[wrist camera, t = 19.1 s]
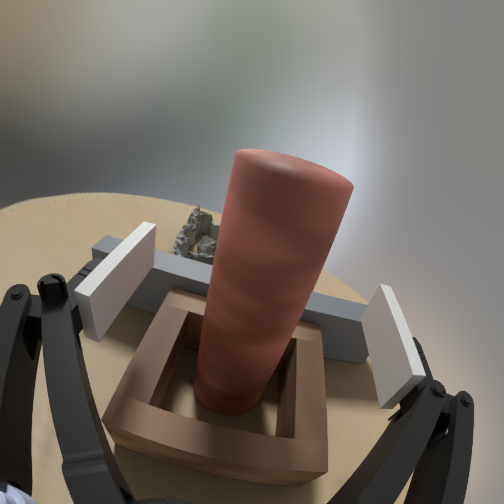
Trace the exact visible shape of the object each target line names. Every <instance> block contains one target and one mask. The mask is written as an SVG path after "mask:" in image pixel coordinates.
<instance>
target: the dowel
mask: <svg viewBox="0 0 504 504" xmlns="http://www.w3.org/2000/svg"><path fill="white" fill-rule="evenodd" d="M353 188H354V186H353V184H352V183H351V182H350V181H349V180H347V179H346V178H344V177H343V176H341V175H339V174H338V173H336V172H334V171H332V170H330V169H327V168H325V167H323V166H320V165H318V164H315V163H312V162H310V161H306V160H304V159H301V158H297V157H294V156H290V155H286V154H282V153H278V152H273V151H267V150H258V149H241V150H238V151H237V152H236V154H235V158H234V163H233V167H232V172H231V176H230V181H229V186H228V191H227V196H226V200H225V205H224V210H223V215H222V220H221V225H220V230H219V235H218V240H217V245H216V251H215V256H214V261H213V267H212V272H211V278H210V284H209V289H208V295H207V301H206V307H205V313H204V319H203V325H202V331H201V337H200V344H199V350H198V357H197V364H196V371H195V378H194V391H195V394H196V396H197V398H198V400H199V401H200V402H201V403H202V404H203V405H204V406H205V407H206V408H207V409H209V410H210V411H212V412H214V413H217V414H220V415H225V416H237V415H241V414H244V413H246V412H248V411H250V410H251V409H252V408H254V406H255V405H256V404H257V402H258V401H259V399H260V397H261V395H262V393H263V391H264V390H265V388H266V386H267V384H268V382H269V380H270V378H271V376H272V374H273V373H274V371H275V369H276V367H277V365H278V363H279V361H280V359H281V357H282V355H283V353H284V351H285V349H286V347H287V345H288V343H289V341H290V339H291V337H292V335H293V332H294V330H295V328H296V326H297V324H298V322H299V320H300V318H301V315H302V313H303V311H304V309H305V307H306V305H307V302H308V300H309V298H310V296H311V293H312V291H313V289H314V287H315V284H316V282H317V280H318V277H319V275H320V273H321V270H322V268H323V266H324V263H325V261H326V258H327V256H328V254H329V251H330V248H331V246H332V244H333V241H334V239H335V236H336V234H337V231H338V229H339V226H340V223H341V221H342V218H343V215H344V213H345V210H346V208H347V205H348V202H349V199H350V197H351V194H352V191H353Z"/></svg>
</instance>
